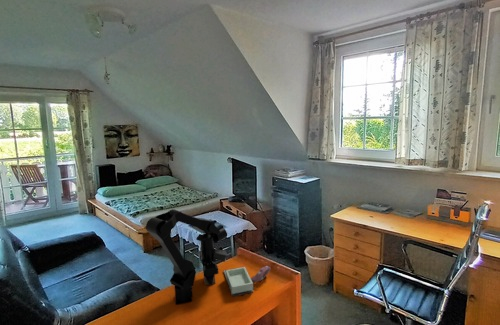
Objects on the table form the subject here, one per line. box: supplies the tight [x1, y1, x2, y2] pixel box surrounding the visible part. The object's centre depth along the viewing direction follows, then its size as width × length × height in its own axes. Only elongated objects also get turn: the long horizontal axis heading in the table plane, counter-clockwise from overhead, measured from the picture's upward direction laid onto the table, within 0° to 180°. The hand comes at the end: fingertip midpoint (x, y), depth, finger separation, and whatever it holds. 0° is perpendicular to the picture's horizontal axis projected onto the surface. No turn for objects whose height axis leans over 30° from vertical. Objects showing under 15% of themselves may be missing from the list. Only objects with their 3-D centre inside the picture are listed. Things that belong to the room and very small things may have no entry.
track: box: [223, 266, 254, 298], centre depth 132 cm, size 9×20×1 cm, turn 15°
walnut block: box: [203, 274, 216, 286], centre depth 132 cm, size 4×4×6 cm
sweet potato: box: [250, 265, 271, 284], centre depth 133 cm, size 10×5×7 cm, turn 145°
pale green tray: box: [225, 266, 254, 295], centre depth 128 cm, size 9×14×4 cm, turn 15°
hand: (209, 279), depth 132 cm, fingers open, 9 cm apart
